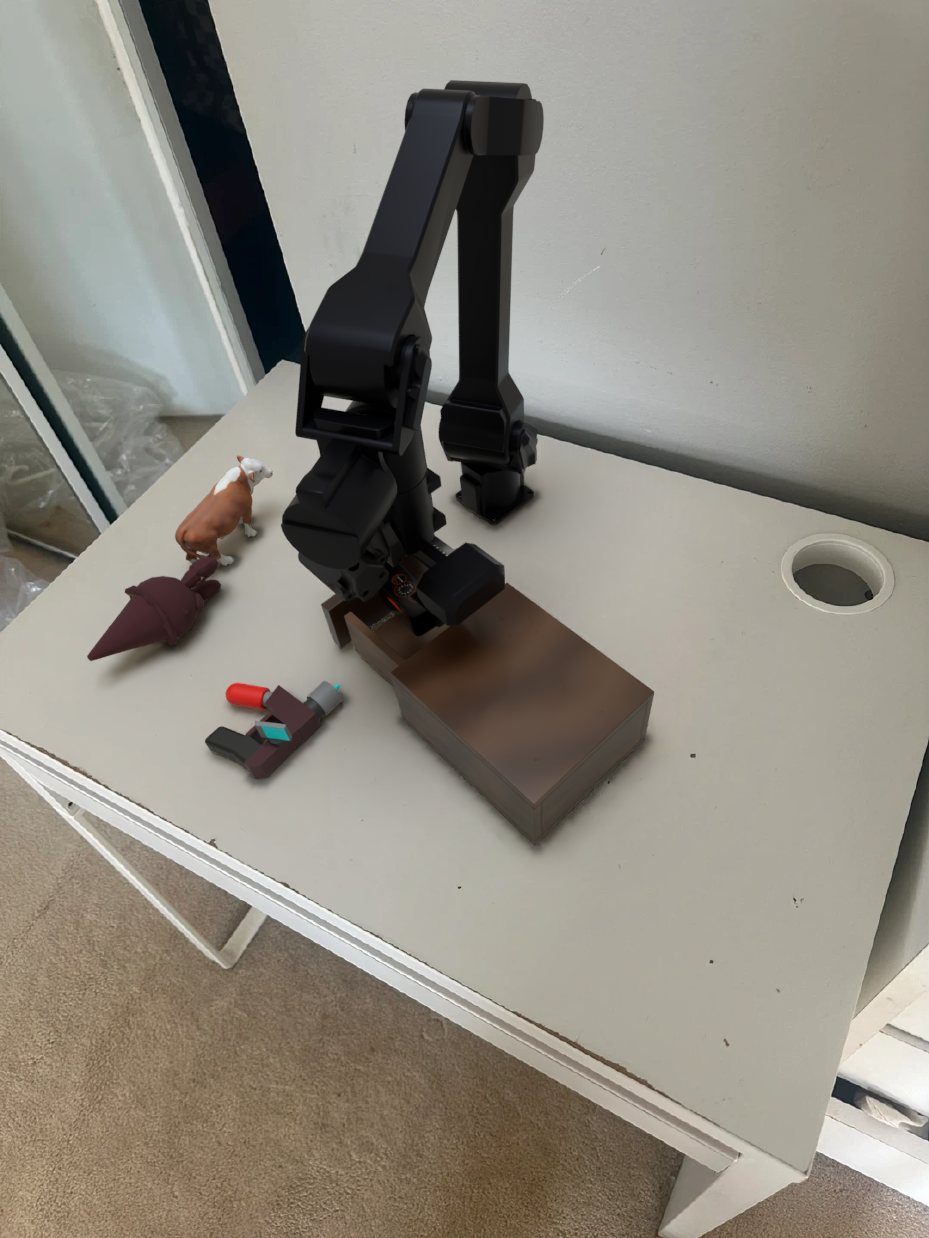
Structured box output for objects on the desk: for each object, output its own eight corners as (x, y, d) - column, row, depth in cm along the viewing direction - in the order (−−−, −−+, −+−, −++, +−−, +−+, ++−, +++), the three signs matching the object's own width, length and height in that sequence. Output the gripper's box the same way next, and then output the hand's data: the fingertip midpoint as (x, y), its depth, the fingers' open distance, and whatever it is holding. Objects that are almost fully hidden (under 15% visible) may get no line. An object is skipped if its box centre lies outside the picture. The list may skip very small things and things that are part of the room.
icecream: (104, 666, 70) (240, 574, 77) (54, 613, 72) (191, 529, 79) (120, 701, 76) (244, 612, 83) (72, 651, 77) (198, 569, 85)
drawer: (304, 614, 79) (290, 576, 74) (399, 548, 83) (391, 508, 79) (439, 741, 69) (432, 706, 64) (539, 658, 73) (539, 619, 69)
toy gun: (357, 699, 73) (346, 669, 69) (259, 794, 68) (243, 767, 64) (286, 649, 77) (273, 618, 74) (190, 734, 72) (170, 706, 68)
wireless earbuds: (423, 647, 69) (418, 624, 67) (378, 600, 73) (372, 577, 71) (465, 619, 71) (461, 596, 68) (419, 575, 75) (414, 551, 72)
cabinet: (402, 719, 71) (389, 672, 65) (509, 633, 76) (506, 581, 71) (534, 845, 63) (534, 804, 57) (645, 739, 68) (654, 691, 62)
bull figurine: (292, 509, 90) (273, 453, 83) (210, 588, 83) (182, 534, 77) (263, 497, 91) (242, 441, 85) (181, 573, 85) (151, 519, 79)
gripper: (232, 468, 61) (284, 597, 73) (384, 597, 52) (415, 720, 64) (346, 400, 65) (377, 533, 77) (506, 508, 56) (513, 640, 68)
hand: (415, 602), depth 71 cm, fingers closed on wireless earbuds, 7 cm apart
